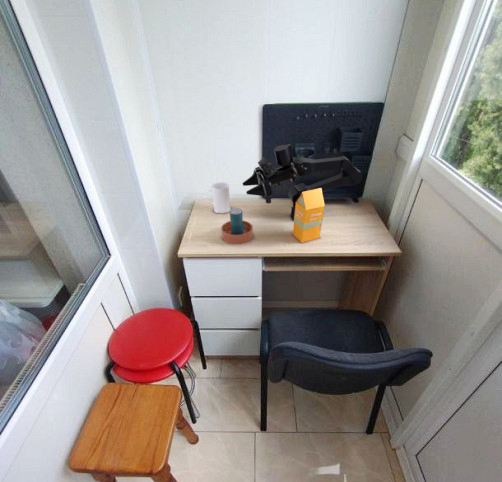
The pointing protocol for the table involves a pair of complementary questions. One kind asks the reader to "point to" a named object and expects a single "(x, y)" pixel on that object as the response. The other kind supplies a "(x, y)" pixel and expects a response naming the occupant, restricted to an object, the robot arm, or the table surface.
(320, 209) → the orange juice
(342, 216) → the table surface
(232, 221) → the can
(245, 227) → the pot
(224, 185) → the mug
